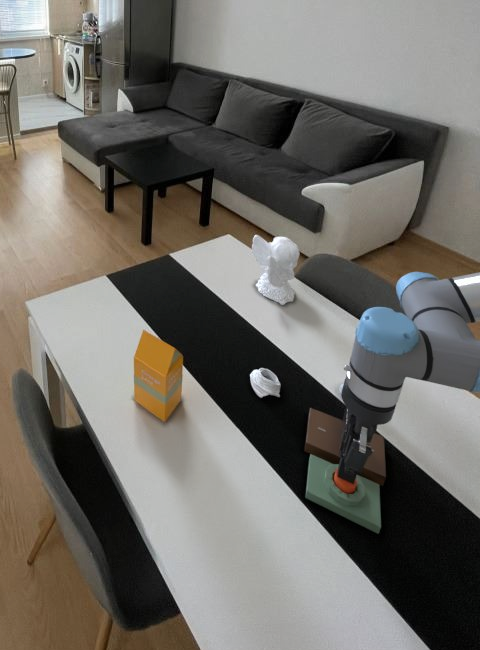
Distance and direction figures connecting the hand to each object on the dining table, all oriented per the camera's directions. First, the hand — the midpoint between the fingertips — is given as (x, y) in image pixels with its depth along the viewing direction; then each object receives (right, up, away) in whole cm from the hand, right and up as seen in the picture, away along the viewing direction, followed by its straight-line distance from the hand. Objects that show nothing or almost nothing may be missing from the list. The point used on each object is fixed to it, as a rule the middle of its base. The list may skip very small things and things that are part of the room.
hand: (345, 476), depth 82 cm
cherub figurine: (+11, +17, +54) cm, 58 cm away
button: (0, -2, +1) cm, 2 cm away
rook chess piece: (+14, +3, +21) cm, 26 cm away
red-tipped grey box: (+5, +1, +9) cm, 10 cm away
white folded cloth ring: (-5, +3, +25) cm, 25 cm away
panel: (+6, -2, +10) cm, 11 cm away
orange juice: (-32, +1, +23) cm, 39 cm away
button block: (0, -5, +2) cm, 6 cm away
